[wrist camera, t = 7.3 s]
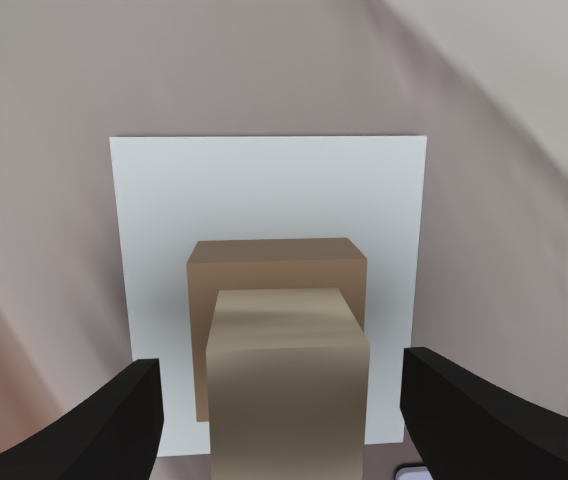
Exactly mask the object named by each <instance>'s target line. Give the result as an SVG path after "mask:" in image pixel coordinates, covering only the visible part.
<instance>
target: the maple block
mask: <svg viewBox="0 0 568 480" xmlns="http://www.w3.org/2000/svg"><path fill="white" fill-rule="evenodd" d="M370 346H371V345H370V343H369V342H368V340H367V338H366V336H365V335H364V333H363V331H362V329H361V328H360V326H359V324H358V322H357V321H356V319H355V317H354V315H353V314H352V312H351V310H350V308H349V307H348V305H347V303H346V301H345V300H344V298H343V296H342V294H341V293H340V291H339V289H338V288H294V289H249V290H219V292H218V297H217V302H216V306H215V311H214V315H213V320H212V324H211V329H210V334H209V338H208V343H207V347H206V367H207V389H208V410H209V432H210V454H211V476H212V480H362V475H363V459H364V443H365V426H366V410H367V394H368V378H369V362H370Z"/></svg>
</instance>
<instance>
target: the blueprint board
mask: <svg viewBox="0 0 568 480" xmlns="http://www.w3.org/2000/svg"><path fill="white" fill-rule="evenodd" d="M109 138H110V148H111V157H112V167H113V176H114V186H115V196H116V205H117V215H118V224H119V234H120V243H121V253H122V262H123V272H124V281H125V291H126V300H127V310H128V319H129V329H130V339H131V348H132V358H133V362H134V361H135V360H137V359H152V358H159V363H160V375H161V386H162V398H163V409H164V425H163V430H162V435H161V440H160V444H159V449H158V454H157V457H160V456H177V455H194V454H210V432H209V410H208V389H207V367H206V347H207V343H208V338H209V334H210V329H211V324H212V320H213V315H214V311H215V306H216V302H217V297H218V292H219V290H249V289H294V288H338V289H339V291H340V293H341V294H342V296H343V298H344V300H345V301H346V303H347V305H348V307H349V308H350V310H351V312H352V314H353V315H354V317H355V319H356V321H357V322H358V324H359V326H360V328H361V329H362V331H363V333H364V335H365V336H366V338H367V340H368V342H369V343H370V345H371V346H370V362H369V378H368V394H367V410H366V426H365V443H364V444H379V443H396V442H403V435H404V419H403V416H402V413H401V411H400V408H399V406H400V393H401V379H402V366H403V352H404V348H410V346H411V333H412V320H413V307H414V295H415V282H416V269H417V256H418V243H419V231H420V218H421V205H422V192H423V180H424V167H425V154H426V141H427V136H261V137H109Z"/></svg>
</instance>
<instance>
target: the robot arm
mask: <svg viewBox="0 0 568 480" xmlns="http://www.w3.org/2000/svg"><path fill="white" fill-rule="evenodd" d="M399 408H400V411H401V413H402V416H403V419H404V422H405V424H406V427H407V429H408V432H409V434H410V437H411V439H412V441H413V443H414V445H415V447H416V449H417V451H418V453H419V454H420V456H421V458H422V460H423V462H424V464H425V467H409V468H402V469H401V470H399V471H398V472H397V474H396V479H395V480H568V417H565V416H562V415H560V414H557V413H555V412H552V411H550V410H548V409H545V408H543V407H540V406H538V405H536V404H533V403H531V402H529V401H526V400H524V399H522V398H520V397H518V396H516V395H514V394H512V393H510V392H508V391H506V390H504V389H502V388H500V387H497V386H496V385H494V384H492V383H490V382H488V381H486V380H484V379H482V378H480V377H479V376H477V375H475V374H473V373H471V372H470V371H468V370H466V369H464V368H462V367H461V366H459V365H457V364H455V363H454V362H452V361H450V360H448V359H447V358H445V357H443V356H441V355H439V354H437V353H436V352H434V351H432V350H430V349H427V348H425V347H411V348H404V352H403V366H402V379H401V393H400V406H399ZM163 425H164V409H163V398H162V386H161V375H160V363H159V358H152V359H137V360H135V361H134V362H133V363H131V364H130V365H129V366H127V367H126V368H125V369H124V370H123V371H121V372H120V373H119V374H118V375H116V376H115V377H114V378H113V379H111V380H110V381H109V382H108V383H106V384H105V385H104V386H103V387H101V388H100V389H99V390H98V391H96V392H95V393H94V394H93V395H91V396H90V397H89V398H87V399H86V400H84V401H83V402H82V403H80V404H79V405H78V406H76V407H75V408H73V409H72V410H71V411H69V412H68V413H66V414H65V415H64V416H62V417H61V418H59V419H58V420H56V421H55V422H53V423H52V424H50V425H49V426H47V427H46V428H44V429H43V430H41V431H39V432H38V433H36V434H34V435H33V436H31V437H29V438H28V439H26V440H24V441H23V442H21V443H19V444H17V445H16V446H14V447H12V448H10V449H8V450H6V451H4V452H2V453H0V480H149V477H150V474H151V472H152V469H153V466H154V463H155V460H156V457H157V454H158V449H159V444H160V440H161V435H162V430H163Z"/></svg>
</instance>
